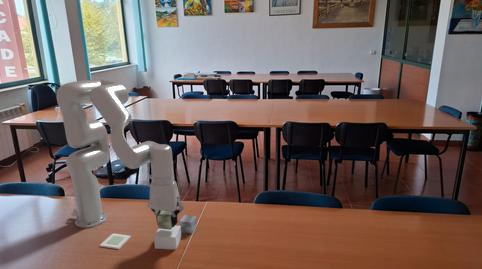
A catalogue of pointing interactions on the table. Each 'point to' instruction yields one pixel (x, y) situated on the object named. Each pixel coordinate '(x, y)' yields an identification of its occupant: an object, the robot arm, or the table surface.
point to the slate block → (188, 224)
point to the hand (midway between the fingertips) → (167, 223)
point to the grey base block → (167, 238)
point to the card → (115, 241)
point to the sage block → (164, 220)
